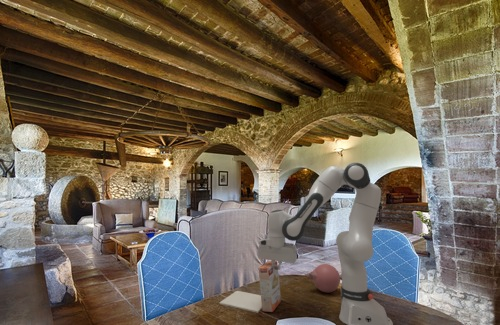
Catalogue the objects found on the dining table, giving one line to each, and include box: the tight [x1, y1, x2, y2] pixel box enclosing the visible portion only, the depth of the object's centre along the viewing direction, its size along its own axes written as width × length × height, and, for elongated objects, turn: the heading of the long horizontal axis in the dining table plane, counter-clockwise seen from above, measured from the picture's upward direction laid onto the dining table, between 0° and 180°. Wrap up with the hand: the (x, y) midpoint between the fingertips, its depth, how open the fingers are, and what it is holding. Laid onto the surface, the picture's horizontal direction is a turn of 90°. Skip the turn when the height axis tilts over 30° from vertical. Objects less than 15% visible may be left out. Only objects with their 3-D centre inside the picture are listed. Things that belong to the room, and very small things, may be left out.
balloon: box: [304, 263, 341, 293], centre depth 162 cm, size 15×20×15 cm
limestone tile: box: [219, 290, 262, 314], centre depth 148 cm, size 22×18×1 cm
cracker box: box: [258, 260, 282, 313], centre depth 142 cm, size 14×6×21 cm, turn 157°
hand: (276, 269), depth 141 cm, fingers closed
